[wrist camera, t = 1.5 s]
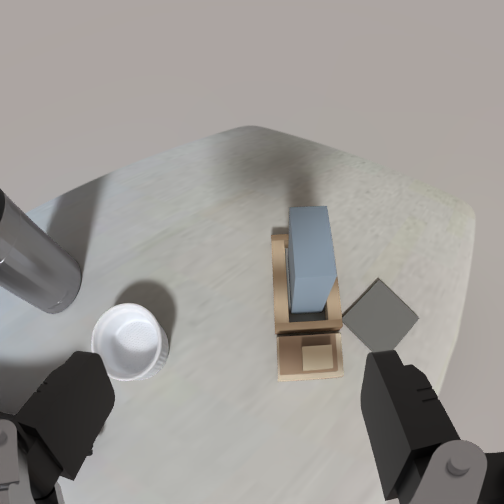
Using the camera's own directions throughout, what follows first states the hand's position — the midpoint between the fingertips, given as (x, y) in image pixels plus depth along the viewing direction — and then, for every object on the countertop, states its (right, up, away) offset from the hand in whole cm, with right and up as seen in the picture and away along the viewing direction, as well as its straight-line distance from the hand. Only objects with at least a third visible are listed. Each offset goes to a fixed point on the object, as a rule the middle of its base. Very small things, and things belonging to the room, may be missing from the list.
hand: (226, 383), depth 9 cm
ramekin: (-13, -8, +27) cm, 31 cm away
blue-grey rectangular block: (+7, 0, +29) cm, 30 cm away
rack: (+7, -2, +28) cm, 29 cm away
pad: (+16, -4, +26) cm, 31 cm away
